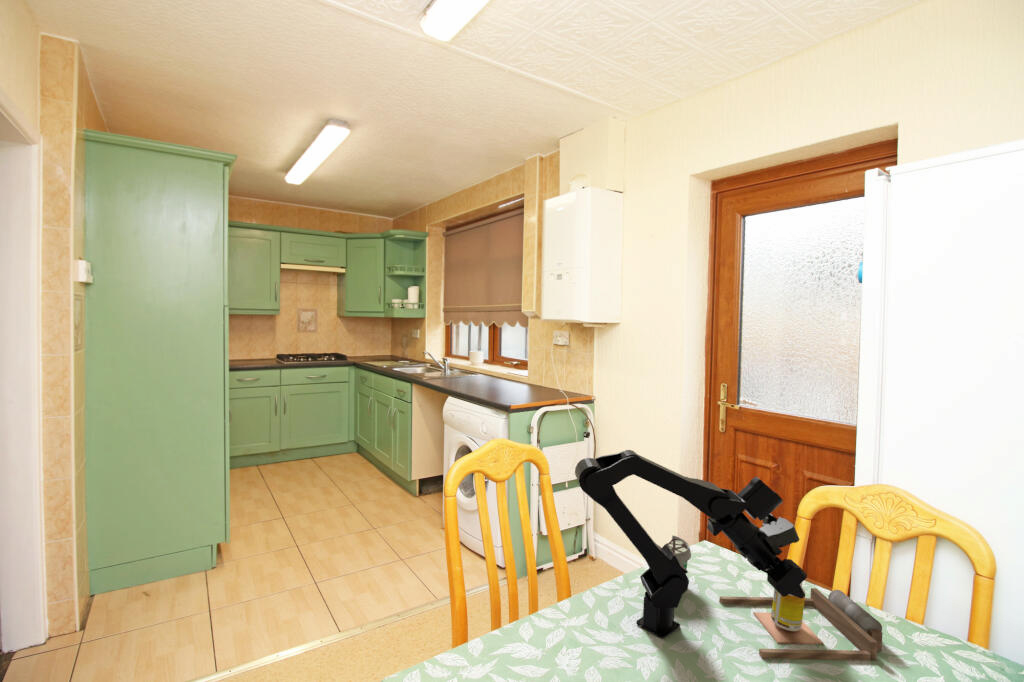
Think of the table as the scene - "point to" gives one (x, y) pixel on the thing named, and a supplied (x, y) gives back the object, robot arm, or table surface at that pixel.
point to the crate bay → (835, 610)
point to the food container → (680, 549)
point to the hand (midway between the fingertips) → (794, 588)
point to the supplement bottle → (788, 611)
